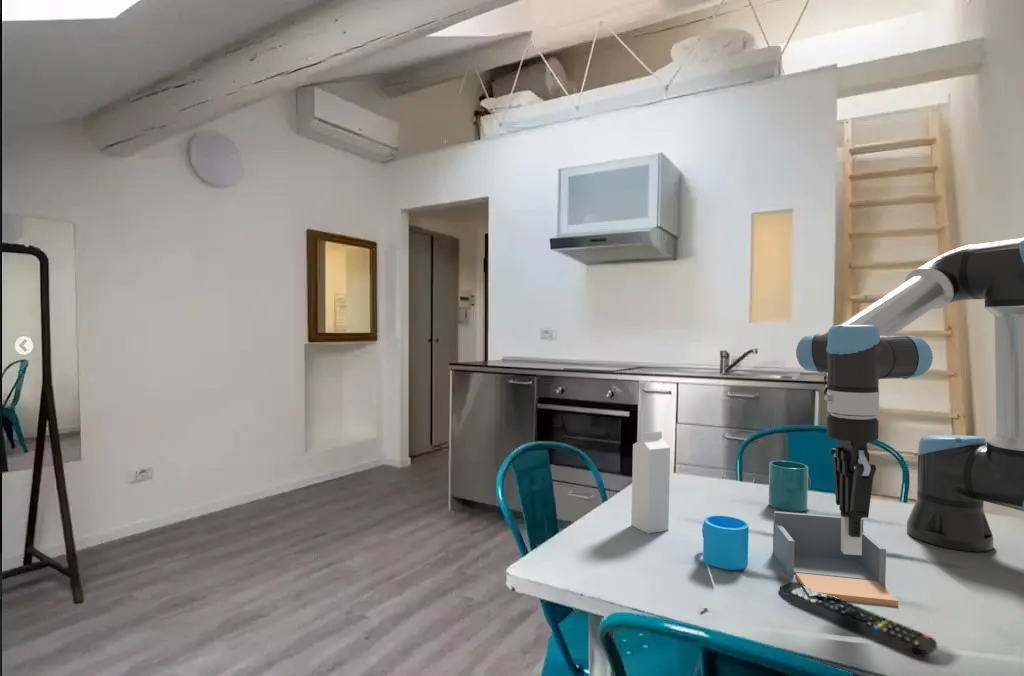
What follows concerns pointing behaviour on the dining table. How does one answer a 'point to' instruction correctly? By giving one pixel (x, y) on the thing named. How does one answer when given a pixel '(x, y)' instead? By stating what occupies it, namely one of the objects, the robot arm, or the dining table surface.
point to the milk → (650, 483)
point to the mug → (725, 542)
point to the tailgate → (848, 589)
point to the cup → (788, 486)
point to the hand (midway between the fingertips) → (851, 552)
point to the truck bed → (824, 548)
